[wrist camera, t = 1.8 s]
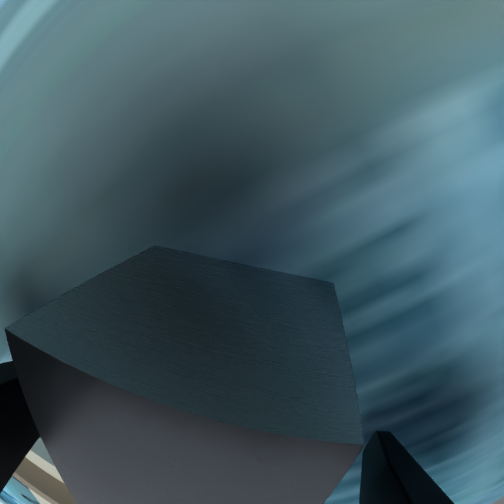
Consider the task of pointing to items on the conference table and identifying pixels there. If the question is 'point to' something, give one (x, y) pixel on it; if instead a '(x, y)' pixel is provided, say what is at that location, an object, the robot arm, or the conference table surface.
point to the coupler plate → (43, 477)
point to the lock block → (191, 384)
